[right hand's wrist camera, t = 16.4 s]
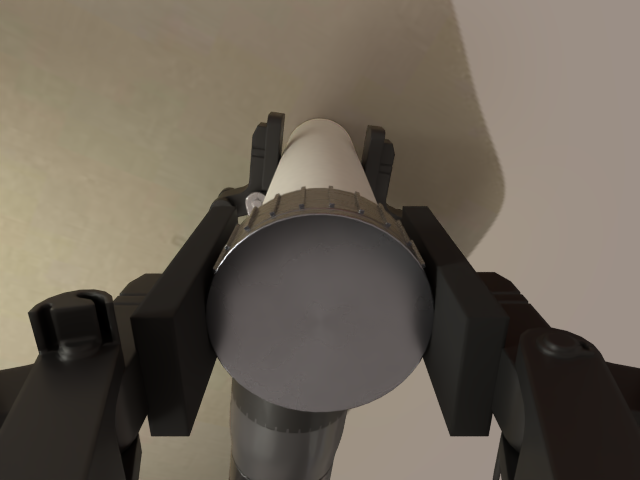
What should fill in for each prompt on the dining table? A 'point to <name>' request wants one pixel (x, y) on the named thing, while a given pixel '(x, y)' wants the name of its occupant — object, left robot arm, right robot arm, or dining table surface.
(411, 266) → the lid
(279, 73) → the dining table surface
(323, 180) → the white stepped cylinder
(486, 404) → the right robot arm
